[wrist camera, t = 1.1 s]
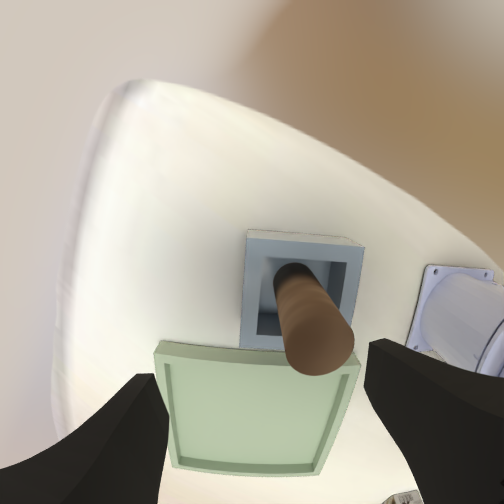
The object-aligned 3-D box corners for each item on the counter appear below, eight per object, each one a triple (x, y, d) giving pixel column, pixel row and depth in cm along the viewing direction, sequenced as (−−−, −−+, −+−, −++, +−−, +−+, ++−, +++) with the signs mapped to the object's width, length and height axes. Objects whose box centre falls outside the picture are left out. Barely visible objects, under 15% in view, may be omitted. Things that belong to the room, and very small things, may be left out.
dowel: (317, 263, 20) (361, 316, 11) (311, 303, 20) (346, 375, 11) (275, 260, 20) (290, 314, 11) (271, 301, 20) (281, 375, 11)
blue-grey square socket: (345, 237, 20) (364, 247, 16) (331, 326, 21) (344, 350, 17) (248, 229, 20) (246, 237, 16) (241, 321, 21) (239, 347, 17)
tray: (353, 352, 22) (361, 365, 20) (316, 462, 25) (319, 475, 23) (160, 340, 21) (153, 352, 20) (175, 454, 25) (172, 467, 23)
